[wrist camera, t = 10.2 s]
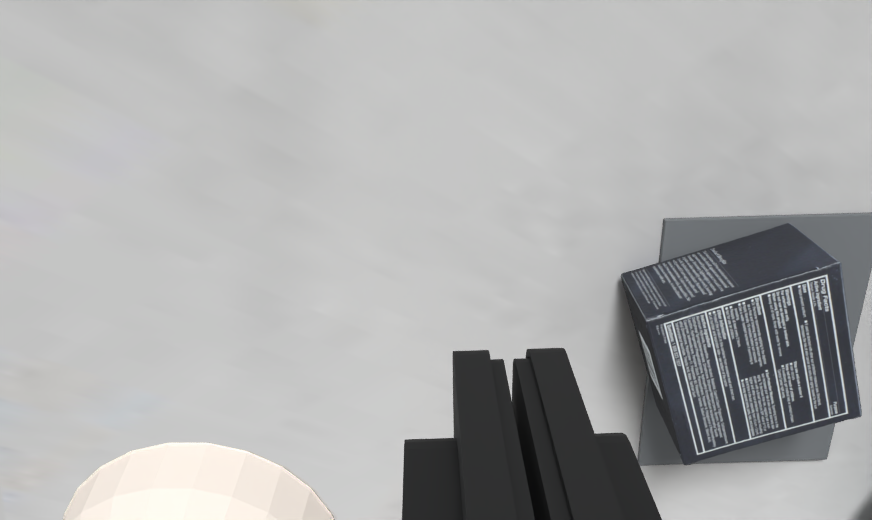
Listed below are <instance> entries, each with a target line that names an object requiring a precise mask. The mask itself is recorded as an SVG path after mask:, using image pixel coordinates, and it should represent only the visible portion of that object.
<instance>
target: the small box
mask: <svg viewBox="0 0 872 520" xmlns="http://www.w3.org/2000/svg"><path fill="white" fill-rule="evenodd" d="M621 278H622V282H623V285H624V288H625V292H626V296H627V299H628V303H629V306H630V310H631V314H632V317H633V321H634V325H635V329H636V332H637V336H638V339H639V343H640V347H641V351H642V354H643V358H644V362H645V365H646V369H647V372H648V376H649V380H650V384H651V387H652V391H653V395H654V399H655V403H656V406H657V408H658V410H659V412H660V414H661V416H662V419H663V420H664V423H665V425H666V427H667V429H668V431H669V434H670V435H671V438H672V440H673V442H674V444H675V446H676V448H677V451H678V453H679V455H680V457H681V459H682V462H683V464H684V465H690V464H692V463H695V462H697V461H701V460H704V459H708V458H711V457H714V456H717V455H721V454H724V453H727V452H731V451H734V450H739V449H742V448H746V447H749V446H753V445H757V444H760V443H764V442H767V441H771V440H775V439H779V438H783V437H786V436H790V435H794V434H797V433H800V432H805V431H808V430H812V429H815V428H819V427H823V426H826V425H829V424H833V423H837V422H841V421H844V420H848V419H855V418H858V417H861V416H862V411H861V404H860V397H859V390H858V383H857V376H856V369H855V361H854V354H853V346H852V340H851V332H850V325H849V317H848V310H847V302H846V295H845V288H844V279H843V272H842V264H841V262H840V261H838V260H837V259H836V258H834V257H833V256H831V255H830V254H829V253H827V252H826V251H825V250H823V249H822V248H821V247H820V246H818V245H817V244H816V243H814V242H813V241H812V240H811V239H810V238H808V237H807V236H806V235H805V234H803V233H802V232H801V231H799V230H798V229H797V228H796V227H794V226H793V225H791V224H790V223H786V224H783V225H780V226H777V227H774V228H771V229H768V230H765V231H761V232H758V233H755V234H752V235H749V236H745V237H742V238H738V239H735V240H732V241H729V242H726V243H722V244H719V245H716V246H713V247H709V248H706V249H703V250H700V251H696V252H693V253H689V254H686V255H683V256H680V257H676V258H673V259H670V260H666V261H663V262H660V263H657V264H653V265H650V266H647V267H644V268H640V269H637V270H634V271H629V272H626V273H623V274H621Z"/></svg>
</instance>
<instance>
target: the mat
mask: <svg viewBox="0 0 872 520" xmlns="http://www.w3.org/2000/svg"><path fill="white" fill-rule="evenodd" d="M786 223H790V224H791V225H793V226H794V227H796V228H797V229H798V230H799V231H801V232H802V233H803V234H805V235H806V236H807V237H808V238H810V239H811V240H812V241H813V242H814V243H816V244H817V245H818V246H820V247H821V248H822V249H823V250H825V251H826V252H827V253H829V254H830V255H831V256H833V257H834V258H836V259H837V260H838V261H840V262H841V264H842V272H843V279H844V288H845V295H846V302H847V310H848V317H849V325H850V332H851V340H852V346H853V345H854V341H855V337H856V332H857V328H858V324H859V320H860V315H861V311H862V307H863V303H864V298H865V294H866V290H867V286H868V281H869V277H870V273H871V268H872V213H843V214H808V215H773V216H738V217H702V218H667V219H664V221H663V230H662V240H661V249H660V258H659V263H660V262H663V261H666V260H670V259H673V258H676V257H680V256H683V255H686V254H689V253H693V252H696V251H700V250H703V249H706V248H709V247H713V246H716V245H719V244H722V243H726V242H729V241H732V240H735V239H738V238H742V237H745V236H749V235H752V234H755V233H758V232H761V231H765V230H768V229H771V228H774V227H777V226H780V225H783V224H786ZM834 426H835V423H833V424H829V425H826V426H823V427H819V428H815V429H812V430H808V431H805V432H800V433H797V434H794V435H790V436H786V437H783V438H779V439H775V440H771V441H767V442H764V443H760V444H757V445H753V446H749V447H746V448H742V449H739V450H734V451H731V452H727V453H724V454H721V455H717V456H714V457H711V458H708V459H704V460H701V461H697V462H695V463H692V464H698V463H729V462H761V461H792V460H824V459H827V456H828V452H829V448H830V443H831V439H832V435H833V431H834ZM638 463H639V465H666V464H683V462H682V459H681V457H680V455H679V453H678V451H677V448H676V446H675V444H674V442H673V440H672V438H671V435H670V434H669V431H668V429H667V427H666V425H665V423H664V420H663V419H662V416H661V414H660V412H659V410H658V408H657V406H656V403H655V399H654V395H653V391H652V387H651V384H650V380H649V376H648V372H647V379H646V388H645V398H644V407H643V416H642V425H641V435H640V444H639V453H638Z"/></svg>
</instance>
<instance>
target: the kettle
mask: <svg viewBox="0 0 872 520" xmlns="http://www.w3.org/2000/svg"><path fill="white" fill-rule="evenodd" d="M63 520H334V519H333V516H332V514H331V513H330V511H329V510H328V509H327V508H326V506H325V505H324V504H323V503H322V501H321V500H320V499H319V497H318V496H317V495H316V494H315V492H314V491H313V490H312V489H311V488H310V487H309V486H307V485H306V484H305V483H303V482H302V481H301V480H299V479H298V478H297V477H295V476H294V475H293V474H291V473H290V472H289V471H287V470H286V469H285V468H283V467H282V466H279V465H277V464H275V463H273V462H271V461H268V460H266V459H264V458H262V457H259V456H257V455H255V454H253V453H250V452H248V451H244V450H240V449H235V448H230V447H226V446H221V445H216V444H212V443H165V444H161V445H156V446H152V447H147V448H143V449H138V450H134V451H131V452H129V453H127V454H125V455H123V456H121V457H119V458H117V459H115V460H113V461H111V462H109V463H107V464H105V465H103V466H101V467H100V468H99V469H97V470H96V471H95V472H94V473H93V474H92V475H91V476H90V477H89V478H88V479H87V480H86V481H85V482H84V483H83V484H82V485H80V486H79V487H78V488H77V490H76V492H75V494H74V496H73V498H72V500H71V502H70V504H69V506H68V508H67V509H66V511H65V513H64V519H63Z"/></svg>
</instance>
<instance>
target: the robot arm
mask: <svg viewBox="0 0 872 520" xmlns="http://www.w3.org/2000/svg"><path fill="white" fill-rule="evenodd" d="M453 409H454V438H441V439H409V440H405V444H404V475H403V509H402V520H662V519H661V517H660V514H659V512H658V509H657V507H656V504H655V502H654V500H653V497H652V495H651V492H650V490H649V488H648V485H647V483H646V480H645V478H644V475H643V473H642V471H641V468H640V466H639V463H638V461H637V458H636V456H635V454H634V451H633V449H632V446H631V444H630V442H629V440H628V438H627V436H626V435H625V434H623V433H601V434H594V431H593V428H592V425H591V422H590V420H589V417H588V414H587V411H586V408H585V405H584V402H583V400H582V397H581V394H580V391H579V388H578V385H577V382H576V379H575V377H574V374H573V371H572V368H571V365H570V362H569V359H568V357H567V354H566V351H565V349H564V348H545V349H527V352H526V359H514V361H513V383H512V401H511V396H510V391H509V386H508V380H507V375H506V370H505V365H504V361H503V359H496V360H490V354H489V351H488V350H479V351H453Z"/></svg>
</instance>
